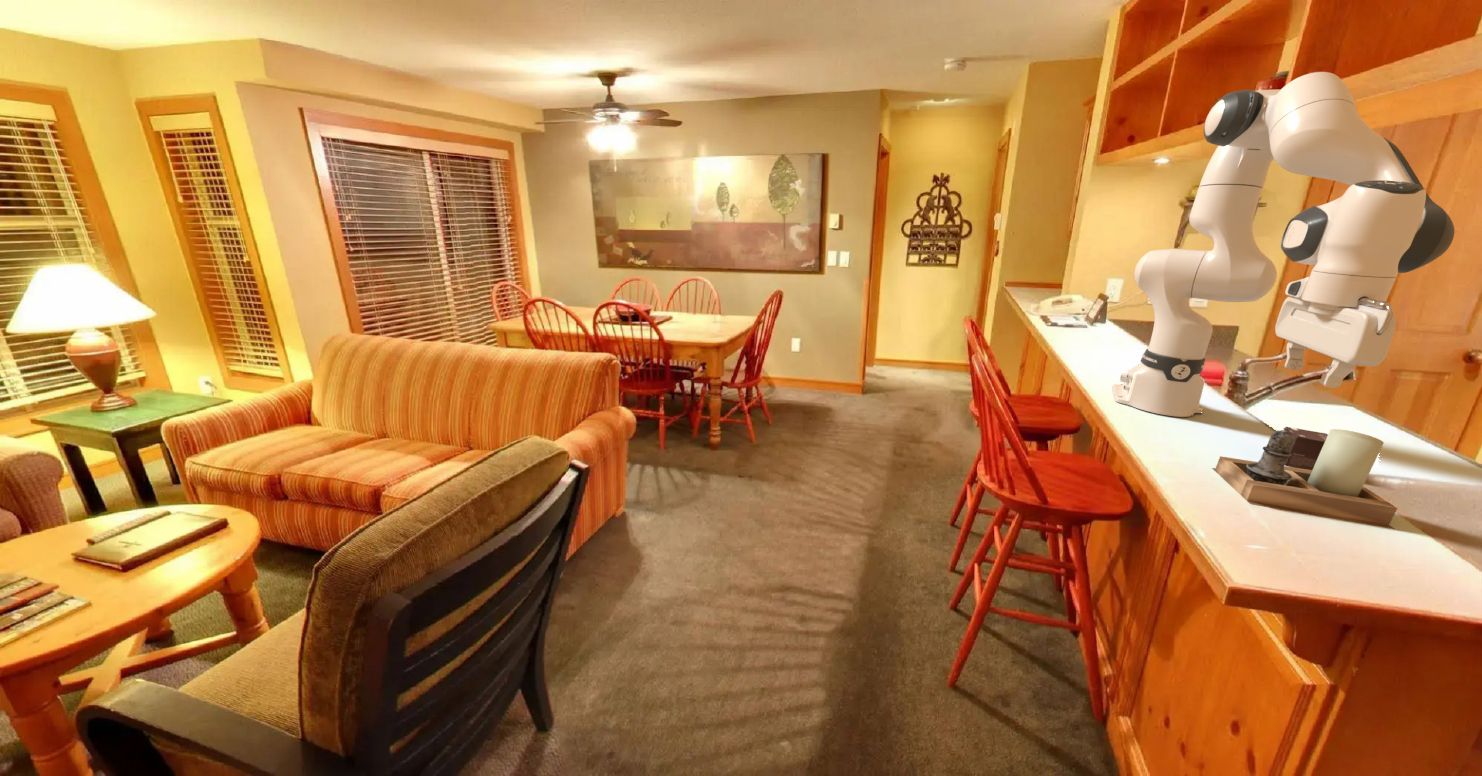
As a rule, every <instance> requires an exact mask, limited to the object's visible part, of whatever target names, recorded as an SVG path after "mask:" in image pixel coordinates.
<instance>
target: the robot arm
mask: <svg viewBox="0 0 1482 776" xmlns="http://www.w3.org/2000/svg"><path fill="white" fill-rule="evenodd" d="M1203 136H1204V138H1205V141H1206V142H1207V143H1210V144H1211V145H1214V146H1215V145H1216V146H1217V147H1216V148H1215V151H1214V152H1213V154H1212V155H1211V158H1210V160H1209V162H1208V163H1207V165H1206V168H1205V170H1204V172H1203V174H1202V177H1201V180H1200V182H1199V183H1200V184H1199V186H1198V189H1197V192H1196V194H1195V197H1194V201H1193V205H1192V207H1191V210H1190V213H1189V216H1188V220H1189V224H1190V226H1191V228H1192V229H1193V230H1195V231H1197V232H1198V233H1200V234H1201V235H1204V236H1205V237H1207V238H1209V239H1211V240H1212V241H1213V248H1212V249H1211V250H1199V249H1198V250H1197V249H1186V248H1185V249H1183V248H1166V249H1165V248H1164V249H1162V248H1161V249H1155V250H1149V251H1148V252H1147V253H1145V254H1144V255H1143V256H1142V257H1141V258H1140V259H1139V260H1138V261H1137V262H1136V264H1135V267H1134V272H1133V277H1134V281H1135V284H1136V285H1137V287H1138V288H1139V289H1140V290H1141V291H1142V292H1143V293H1144V294H1145V295H1146V296H1147V298H1148V299H1149V301H1150V303H1151V306H1152V308H1153V314H1154V321H1153V322H1154V323H1153V328H1152V329H1153V330H1152V332H1151V338H1150V341H1149V344H1148V348H1146V349H1145V351H1144V352H1143V354H1142V357H1141V359H1140V363H1138V364H1137V365H1135V366H1133V367H1132V368H1131V369H1129V370H1127V372H1126V373H1121V375H1120V378H1119V382H1121V384H1120V383H1119V384H1117V383H1115V384H1112V387H1111V389H1112V393H1113V397H1114V400H1115V402H1117V403H1120V404H1124V405H1128V406H1131V407H1134V408H1136V409H1138V410H1142V411H1145V412H1149V413H1153V414H1157V415H1163V416H1171V417H1176V418H1177V417H1179V418H1180V417H1181V418H1184V417H1186V418H1187V417H1192V416H1194V415H1195V414H1194V413H1201V412H1203V413H1204V408H1203V407H1201V406H1200V402H1201V399H1202V398H1201V397H1202V395H1203V390H1204V387H1205V380H1204V379H1203V378H1202V377H1201V375H1200V374H1201V373H1202V372H1203V369H1204V368H1205V363H1206V358H1205V355H1206V351H1207V349H1208V347H1209V344H1210V341H1211V338H1212V335H1213V325H1212V323H1211V322H1210V321H1209V320H1208V319H1207V318H1206V317H1205V316H1203V315H1202V314H1200V313H1198V312H1196V311H1194V310H1193V309H1192V308H1191V306H1190V299H1198V300H1207V301H1216V302H1224V303H1250V302H1256V301H1258V300H1260V299H1262V298H1263V297H1264V296H1266V295H1267V294H1268V293H1269V292H1270V291H1271V290H1272V288H1273V287H1274V285H1275V283H1276V280H1277V278H1278V274H1277V273H1278V271H1277V268H1276V265H1275V264H1274V262H1273V261H1272V260H1271V259H1270V258H1269V257H1268V256H1266V255H1265V254H1264V252H1262V251H1261V250H1260V248H1259V247H1258V245H1257V243H1256V240H1255V237H1254V233H1253V231H1254V230H1253V224H1254V219H1255V215H1256V211H1257V206H1258V203H1259V200H1260V197H1261V195H1262V192H1263V188H1264V186H1265V182H1266V179H1267V175H1268V171H1269V169H1270V166H1271V163H1272V162H1273V160H1274V161H1275V162H1276V163H1277V165H1278V166H1279V167H1280V168H1281V169H1282V170H1283V169H1284V170H1285V171H1287V172H1289V173H1292V174H1295V175H1301V176H1305V177H1306V176H1307V177H1312V178H1319V179H1325V180H1330V181H1334V182H1339V183H1343V184H1346V185H1349V187H1348V188H1347V189H1346V190H1345V192H1344V193H1343V194H1342V196H1340V197H1338V198H1336V199H1333V200H1331V201H1328V202H1327V203H1324V204H1321V205H1315V206H1314V205H1313V206H1310V207H1307V208H1306V209H1304V210H1302V211H1300V212H1299V213H1298V214H1296V215H1295V216H1294V217H1292V218H1291V219H1290V220H1288V223H1287V225H1286V227H1285V230H1284V233H1283V235H1282V237H1281V241H1280V248H1281V251H1283V253H1284V255H1285V256H1286V257H1287V259H1288V260H1290V261H1291V262H1293V263H1299V264H1302V265H1308V266H1309V265H1310V266H1314V267H1313V268H1312V269H1311V271H1310V275H1309V276H1307V277H1305V278H1301V279H1298V280H1295V281H1290V282H1289V283H1288V284H1287V285H1286V289H1285V291H1284V293H1285V295H1286V296H1287V297H1286V298H1285V300H1284V301H1283V302H1282V305H1281V308H1280V311H1279V313H1278V316H1277V320H1276V323H1275V325H1274V326H1275V329H1274V330H1275V331H1274V332H1275V336H1276V337H1278V338H1281V339H1283V340H1286V341H1287V344H1286V361H1285V363H1284V368H1286V369H1288V370H1291V371H1296V372H1298V371H1299V372H1301V371H1302V370H1303V368H1304V366H1305V364H1306V360H1304V355H1305V350H1307V349H1309V350H1311V351H1314V352H1317V353H1320V354H1321V355H1325V356H1326V357H1330V358H1333V360H1332V362H1331V366H1332V367H1331V368H1330V370H1329V371H1328V372H1327V373H1324V372H1323V373H1322V375H1321V379H1320V380H1319V384H1321V385H1322V386H1324V387H1326V388H1331V389H1332V388H1333V389H1338V388H1340V387H1341V384H1342V383H1343V381H1344V379H1345V378H1346V377H1347V376H1348V375H1350V374H1351V373H1352V372H1353V371H1354V370H1356V367H1357V366H1361V367H1362V366H1365V367H1377V366H1379V365H1380V364H1381V363H1383V362H1384V361H1385V359H1386V357H1387V355H1388V352H1389V350H1390V346H1391V345H1392V340H1393V337H1394V335H1395V330H1396V324H1397V323H1396V322H1397V321H1396V318H1395V312H1394V311H1393V309H1392V307H1391V306H1392V305H1391V303H1390V302H1388V301H1387V300H1388V297H1389V295H1390V293H1391V290H1392V288H1393V286H1394V284H1395V281H1396V280H1397V277H1398V274H1406V273H1409V272H1411V271H1415V270H1417V269H1420V268H1422V267H1424V266H1426V265H1428V264H1430V263H1432V262H1434V261H1436V259H1438V258H1439V257H1441V256H1442V255H1444V254H1445V253H1446V252H1447V251H1448V249H1449V248H1450V247H1451V245H1452V242H1453V241H1454V240H1453V239H1454V237H1455V225H1454V223H1453V221H1452V218H1451V217H1450V215H1449V214H1448V213H1447V211H1446V210H1444V208H1442V206H1440V205H1439V204H1437V203H1436V202H1434V201H1433V200H1432V198H1431V197H1430V196H1429V195H1428V193H1427V190H1426V188H1425V187H1424V186H1423V184H1422V183H1421V181H1420V179H1419V177H1417V175H1416V173H1415V171H1414V170H1413V168H1412V167H1411V165H1410V163H1409V162H1408V160H1407V159H1406V157H1405V156H1404V154H1403V153H1402V151H1401V150H1400V149H1399V147H1397V145H1396V144H1394V143H1393V142H1391V141H1390V140H1388V139H1387V138H1385V137H1383V136H1381V135H1380V134H1379V133H1377V132H1376V131H1375V130H1373V129H1372V128H1371V127H1370V126H1369V125H1368V124H1367V123H1366V122H1365V121H1364V120H1363V118H1362V117H1361V116H1360V113H1359V112H1358V109H1357V106H1356V102H1355V100H1354V96H1353V95H1352V93H1351V92H1350V90H1349V88H1348V86H1347V85H1346V83H1345V82H1344V81H1343V80H1342V79H1341V78H1340V77H1339V76H1338V75H1336V74H1335V73H1332V72H1328V71H1314V72H1309V73H1307V74H1303V75H1301V76H1298V77H1296V78H1295V79H1293V80H1291V81H1289V82H1288V83H1287V84H1285V85H1284V86H1283V87H1282V88H1281V89H1261V90H1260V89H1258V90H1253V89H1248V88H1247V89H1243V90H1235V91H1232V92H1228V93H1226V94H1225V95H1223V96H1222V97H1220V98H1218V100H1216V102H1215V103H1214V104H1213V105H1212V107H1211V108H1210V110H1209V113H1208V114H1207V116H1206V118H1205V123H1204V126H1203ZM1122 383H1123V384H1122ZM1193 414H1194V415H1193ZM1191 415H1192V416H1191Z"/></svg>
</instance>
